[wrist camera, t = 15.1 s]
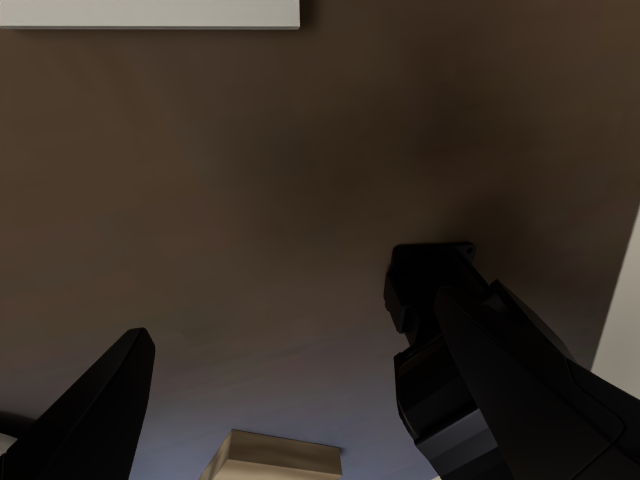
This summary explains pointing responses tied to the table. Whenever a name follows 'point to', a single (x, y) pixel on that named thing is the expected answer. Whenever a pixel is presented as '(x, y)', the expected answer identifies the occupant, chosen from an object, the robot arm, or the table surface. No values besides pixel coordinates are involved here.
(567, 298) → the table surface
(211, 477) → the oak stand
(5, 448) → the coffee press
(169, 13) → the white stand
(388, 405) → the table surface
